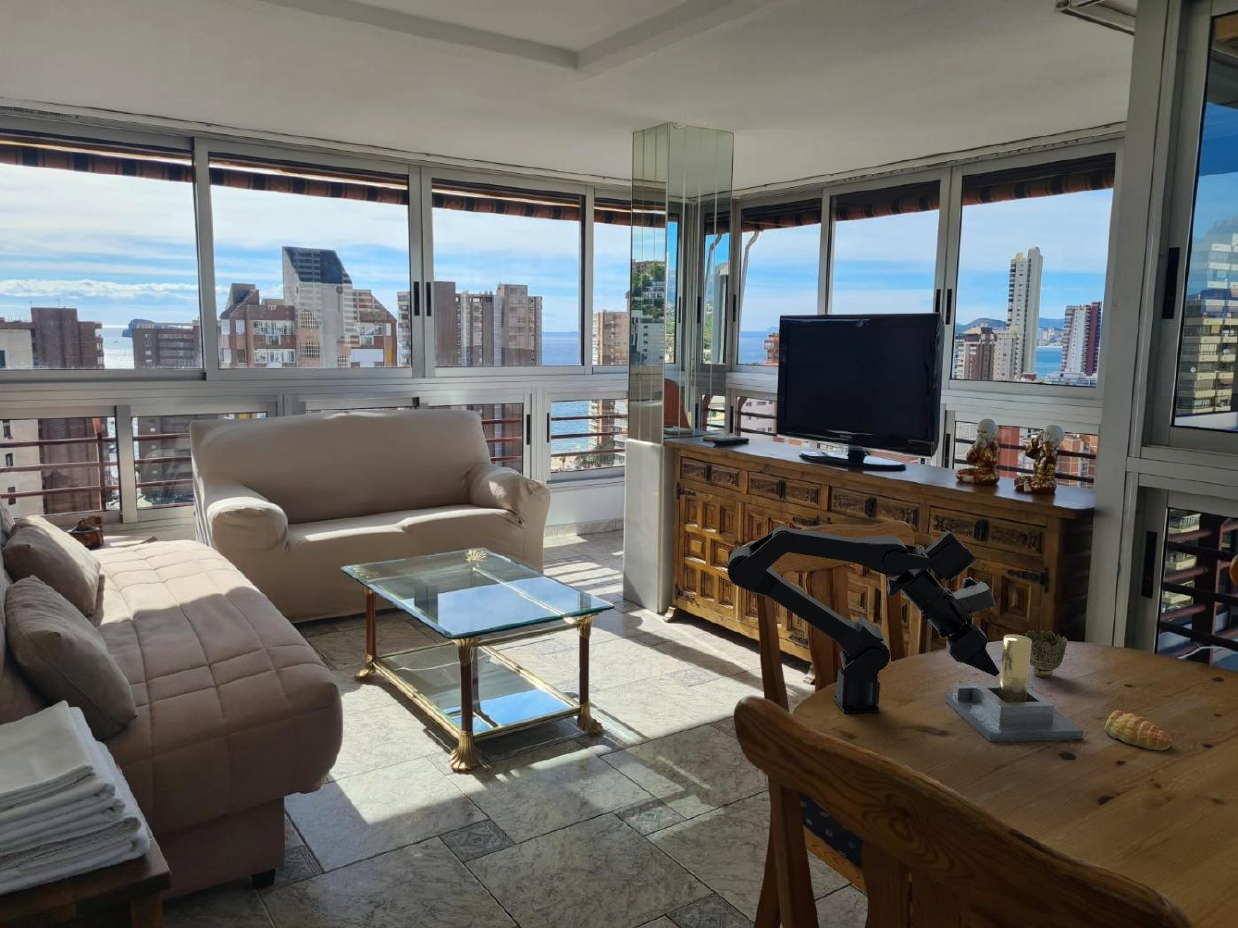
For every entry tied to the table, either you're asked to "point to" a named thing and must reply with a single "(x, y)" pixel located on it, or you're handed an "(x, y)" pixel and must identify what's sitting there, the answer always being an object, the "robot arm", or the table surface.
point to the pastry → (1137, 731)
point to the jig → (1010, 715)
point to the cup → (1046, 652)
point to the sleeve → (1014, 668)
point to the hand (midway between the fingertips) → (991, 664)
